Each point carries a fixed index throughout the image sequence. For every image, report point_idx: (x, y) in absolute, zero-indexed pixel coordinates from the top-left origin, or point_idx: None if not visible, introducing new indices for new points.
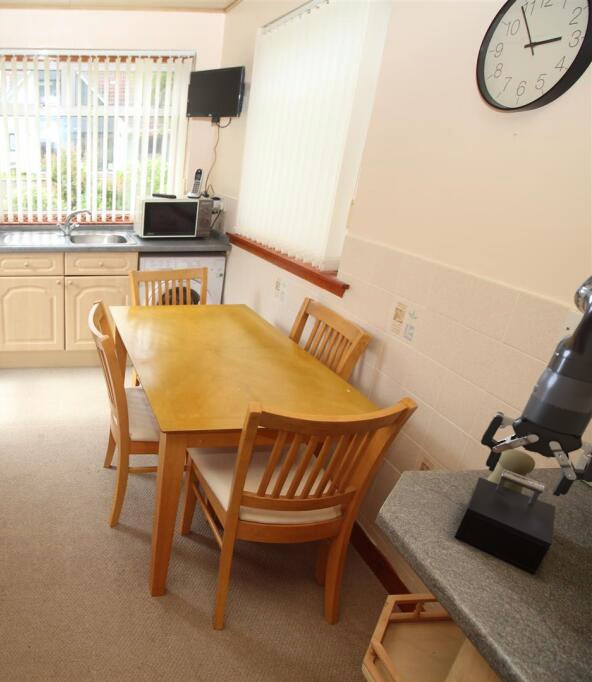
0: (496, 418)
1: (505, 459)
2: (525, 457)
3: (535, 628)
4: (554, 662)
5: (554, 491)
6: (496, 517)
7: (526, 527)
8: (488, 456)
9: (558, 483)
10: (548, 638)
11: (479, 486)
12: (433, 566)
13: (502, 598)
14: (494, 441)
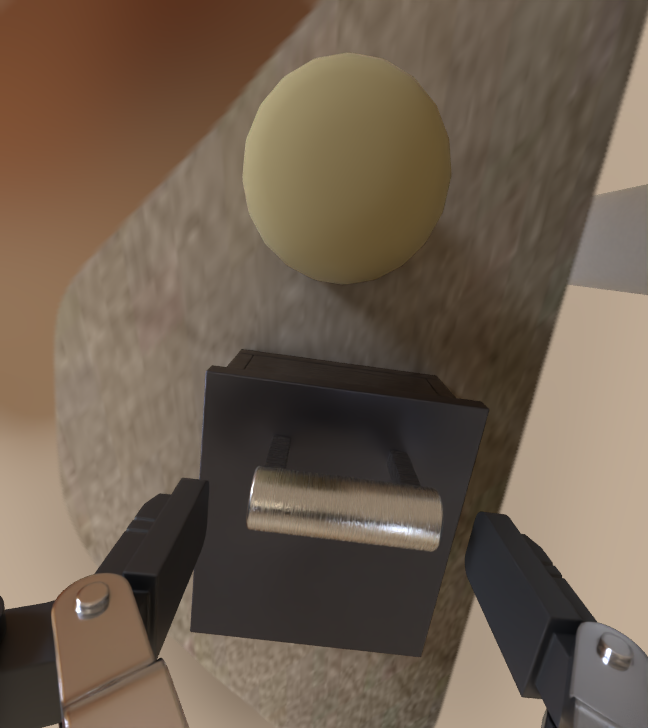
0: None
1: (276, 254)
2: (383, 212)
3: (375, 695)
4: None
5: (472, 572)
6: (275, 626)
7: (360, 622)
8: (129, 529)
9: (497, 610)
10: (393, 704)
11: (212, 461)
12: (199, 654)
13: (326, 659)
14: (21, 702)
